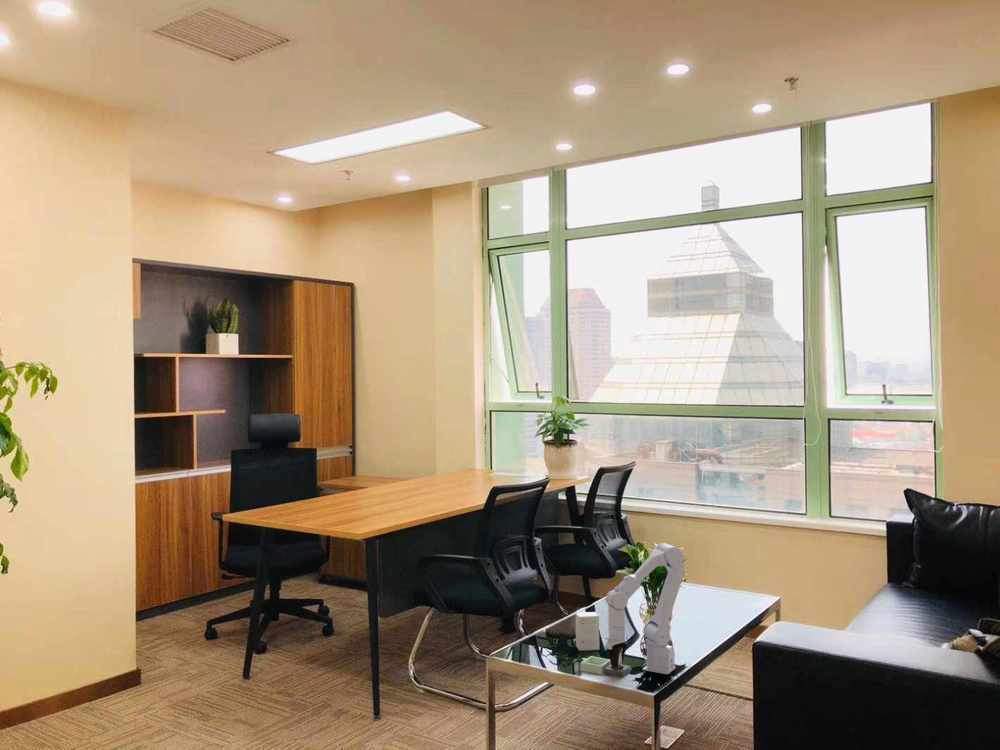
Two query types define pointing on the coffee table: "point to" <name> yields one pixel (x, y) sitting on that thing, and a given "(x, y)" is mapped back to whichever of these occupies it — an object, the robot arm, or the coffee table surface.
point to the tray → (595, 664)
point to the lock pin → (619, 660)
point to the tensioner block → (617, 671)
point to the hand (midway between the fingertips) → (617, 664)
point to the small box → (587, 631)
